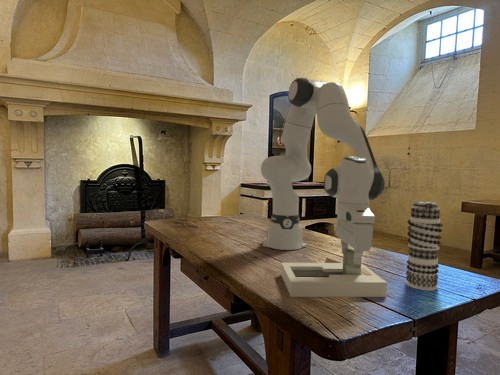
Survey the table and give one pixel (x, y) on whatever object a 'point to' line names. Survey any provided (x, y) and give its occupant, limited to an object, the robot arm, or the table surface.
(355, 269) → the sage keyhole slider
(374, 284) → the keyhole plate
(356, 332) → the table surface
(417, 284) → the decorative candle
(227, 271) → the table surface
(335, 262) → the shard
